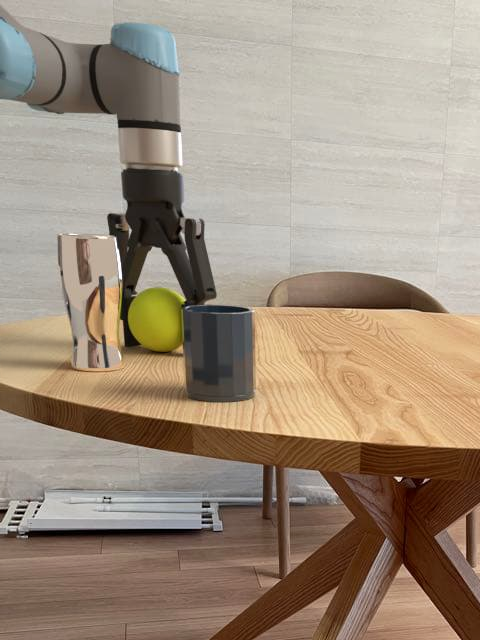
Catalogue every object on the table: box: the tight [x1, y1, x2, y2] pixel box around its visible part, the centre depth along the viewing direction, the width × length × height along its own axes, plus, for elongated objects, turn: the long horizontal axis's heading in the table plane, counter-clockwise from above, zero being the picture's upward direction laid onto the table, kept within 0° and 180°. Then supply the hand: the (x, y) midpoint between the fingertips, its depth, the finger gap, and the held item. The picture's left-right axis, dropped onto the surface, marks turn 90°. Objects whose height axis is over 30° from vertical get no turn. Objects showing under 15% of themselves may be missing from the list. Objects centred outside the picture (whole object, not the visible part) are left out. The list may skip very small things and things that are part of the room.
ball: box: [128, 286, 186, 353], centre depth 110 cm, size 8×8×8 cm
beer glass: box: [56, 232, 126, 372], centre depth 97 cm, size 7×7×15 cm
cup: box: [181, 304, 257, 403], centre depth 88 cm, size 7×7×9 cm
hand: (162, 349), depth 112 cm, fingers open, 9 cm apart
